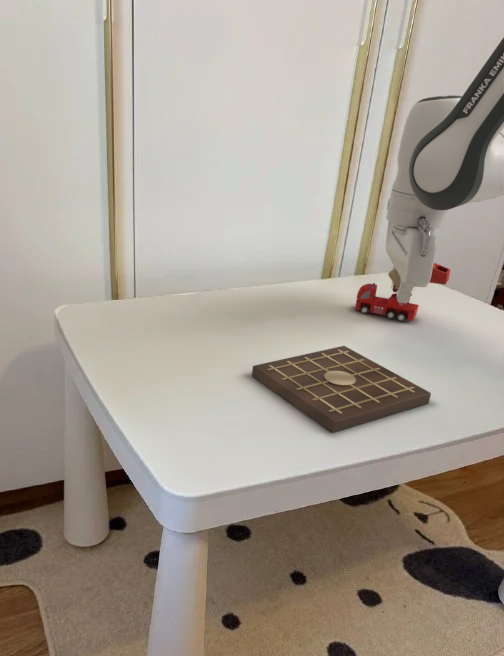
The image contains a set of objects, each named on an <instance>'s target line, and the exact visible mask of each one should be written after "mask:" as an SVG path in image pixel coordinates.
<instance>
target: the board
mask: <svg viewBox="0 0 504 656" xmlns="http://www.w3.org/2000/svg"><path fill="white" fill-rule="evenodd" d="M251 376H252V378H254V379H256V380H257V381H258V382H260V383H261V384H263V385H264V386H265V387H267V388H269V389H270V390H271V391H273V392H274V393H275V394H277V395H278V396H279V397H281V398H282V399H284V400H285V401H286V402H288V403H290V405H292V406H294V407H295V408H296V409H298V410H300V411H301V412H302V413H303V414H305V415H306V416H308V418H311V419H312V420H314V421H315V422H316V423H318V424H319V425H321V426H322V427H323V428H324V429H326V430H328V431H329V432H330V433H336V432H339V431H342V430H345V429H348V428H352V427H355V426H359V425H362V424H365V423H368V422H372V421H376V420H378V419H382V418H384V417H388V416H392V415H395V414H398V413H401V412H404V411H405V412H406V411H408V410H411V409H415V408H418V407H420V406H424V405H428V404H429V403H430V399H431V396H432V392H430V391H429V390H426V389H425V388H424V387H423V388H422V387H421V386H419V385H417V384H415V383H414V382H412V381H410V380H408V379H406V378H405V377H403V376H401V375H399V374H398V373H396V372H393V371H392V370H391V369H388V368H386V367H385V366H383V365H381V364H379V363H377V362H375V361H373V360H371V359H370V358H368V357H366V356H364V355H362V354H361V353H359V352H357V351H355V350H353V349H351V348H349V347H348V346H346V345H340V346H336V347H332V348H327V349H322V350H319V351H313V352H308V353H304V354H300V355H299V354H298V355H295V356H290V357H285V358H281V359H277V360H273V361H268V362H264V363H263V362H262V363H259V364H254V365H252V372H251Z"/></svg>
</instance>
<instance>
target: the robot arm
mask: <svg viewBox="0 0 504 656" xmlns="http://www.w3.org/2000/svg"><path fill="white" fill-rule="evenodd" d="M396 160H397V173H396V176H395V179H394V181H393V183H392V186H391V190H390V195H389V198H388V201H387V206H386V210H387V212H386V218H385V219H386V221H387V231H386V239H385V240H386V241H385V250H386V251H385V252H386V254H387V256H388V257H389V259H390V262H391V263H392V264H393V265H392V270H393V269H395V268H396V270H397V272H398V274H399V276H400V277H401V279H400V281H401V283H400V287H399V289H397V288H396V286H395V285H394V283H393V281H392V280H391V286H390V288H391V290H392V292H393V293H397V296H396V299H397V301H398V302H399V303H408V302H409V303H410V300H409V298H410V299H411V297H410V294H411V293H412V292H413V290H414V288H427V287H428V285H429V284H430V283H429V282H430V279H431V274H432V269H433V264H434V263H435V257H436V251H437V242H438V241H437V240H438V239H437V237H436V235H435V230H436V229H440V228H442V227H444V226H445V225H446V220H447V215H448V211H449V210H452V209H454V208H457V207H461V206H464V205H467V204H472V203H478V202H483V201H487V200H491V199H496V198H499V197H502V196H504V37H503V38H502V39H501V41H500V42H499V43H498V45H497V46H496V48H495V49H494V50H493V51H492V53H491V55H489V57H488V59H487V60H486V62H485V63H484V64H483V66H482V67H481V69H480V70H479V72H478V73H477V75H476V76H475V77H474V78H473V80H472V81H471V83H470V84H469V86H468V87H467V88H466V90H465V92H464V93H463V95H455V94H454V95H444V96H443V95H439V96H438V95H437V96H430V97H425V98H422V99H420V100H418V101H416V102H415V103H414V104H413V105H412V107H411V108H410V111H409V112H408V115H407V118H406V120H405V123H404V127H403V130H402V135H401V138H400V142H399V147H398V152H397V158H396Z"/></svg>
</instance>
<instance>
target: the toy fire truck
mask: <svg viewBox="0 0 504 656" xmlns="http://www.w3.org/2000/svg"><path fill="white" fill-rule="evenodd" d="M387 274H388V277H389V278H390V280H391V282H392V281H393V283H394V285H395V286H396V288H397V289H399V287H400V283H401V281H400V279H401V277H400V276H399V274H398V272H397V270H396V268H395V269H393V268H392V270H390V271H389V272H388V273H387ZM450 275H451V269H450V268H448V267H446V266H443V265H441V264H438V263H436V262H434V264H433V269H432V274H431V279H430V282H429V284H437V285H444V286H445V285H447V284H448V282H449V280H450ZM377 291H378V284H376V282H373V283H366V284H363V285H362V286H361V287H360V288H359V289H358V291H357V294H356V301H355V305H354V308H355V310H356V311H360V312H361V314H363V315H366V314H368V313H370V314H376V315H381V316H386V317H387V318H388V319H389V320H393V319H395V318H396V319H397V320H398V321H399V322H404V321H405V320H407V321H409V322H413V321H414V320H415V318H416V316H417V313H418V310H419V304H416V303H412V302H410V301H411V297H412V296H413V294H412V292H411V294H410V298H409V302H408V303H399V302H398V301H397V299H396V296H397V292H394V293H391V295H390V297H388V298H386V297H380V296H377Z"/></svg>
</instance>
